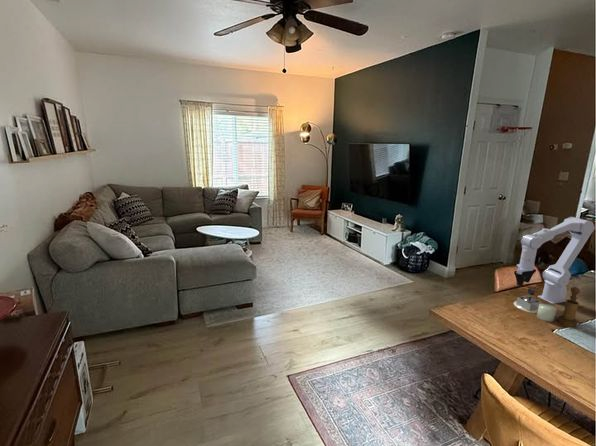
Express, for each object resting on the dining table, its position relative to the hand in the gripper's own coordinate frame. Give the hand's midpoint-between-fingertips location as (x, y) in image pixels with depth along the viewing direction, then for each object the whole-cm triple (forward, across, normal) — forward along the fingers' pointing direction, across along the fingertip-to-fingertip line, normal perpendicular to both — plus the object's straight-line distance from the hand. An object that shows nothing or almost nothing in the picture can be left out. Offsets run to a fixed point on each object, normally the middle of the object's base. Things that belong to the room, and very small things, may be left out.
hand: (522, 283), depth 157 cm
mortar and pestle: (+10, +5, +21) cm, 24 cm away
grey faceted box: (+9, +3, +4) cm, 11 cm away
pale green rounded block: (+10, +8, +14) cm, 19 cm away
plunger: (+7, +3, +5) cm, 9 cm away
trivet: (+10, +3, +5) cm, 12 cm away
